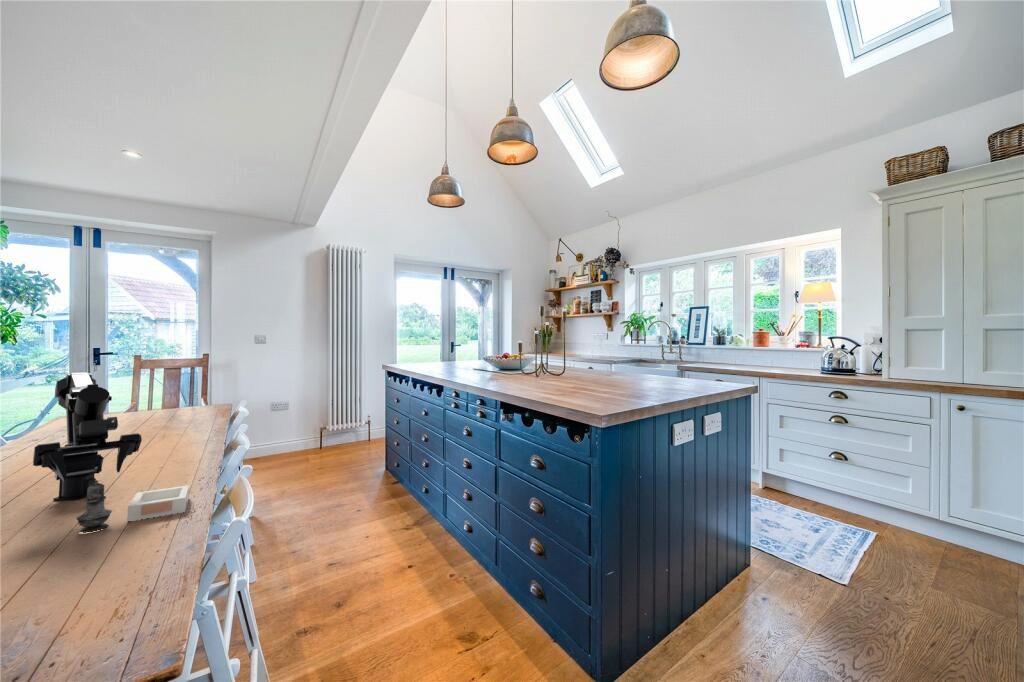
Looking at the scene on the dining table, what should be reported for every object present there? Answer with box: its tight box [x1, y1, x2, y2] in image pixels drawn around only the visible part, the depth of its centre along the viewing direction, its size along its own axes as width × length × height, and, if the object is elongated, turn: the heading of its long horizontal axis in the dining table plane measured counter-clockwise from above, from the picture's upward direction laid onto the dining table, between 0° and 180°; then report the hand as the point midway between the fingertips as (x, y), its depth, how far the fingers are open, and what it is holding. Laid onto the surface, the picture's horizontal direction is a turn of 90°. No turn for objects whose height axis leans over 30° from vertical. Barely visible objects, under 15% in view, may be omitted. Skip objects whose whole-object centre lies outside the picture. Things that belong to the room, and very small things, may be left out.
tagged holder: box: [126, 484, 190, 523], centre depth 104 cm, size 11×12×4 cm
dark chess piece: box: [76, 479, 112, 533], centre depth 93 cm, size 6×6×12 cm
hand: (92, 475), depth 96 cm, fingers open, 9 cm apart
